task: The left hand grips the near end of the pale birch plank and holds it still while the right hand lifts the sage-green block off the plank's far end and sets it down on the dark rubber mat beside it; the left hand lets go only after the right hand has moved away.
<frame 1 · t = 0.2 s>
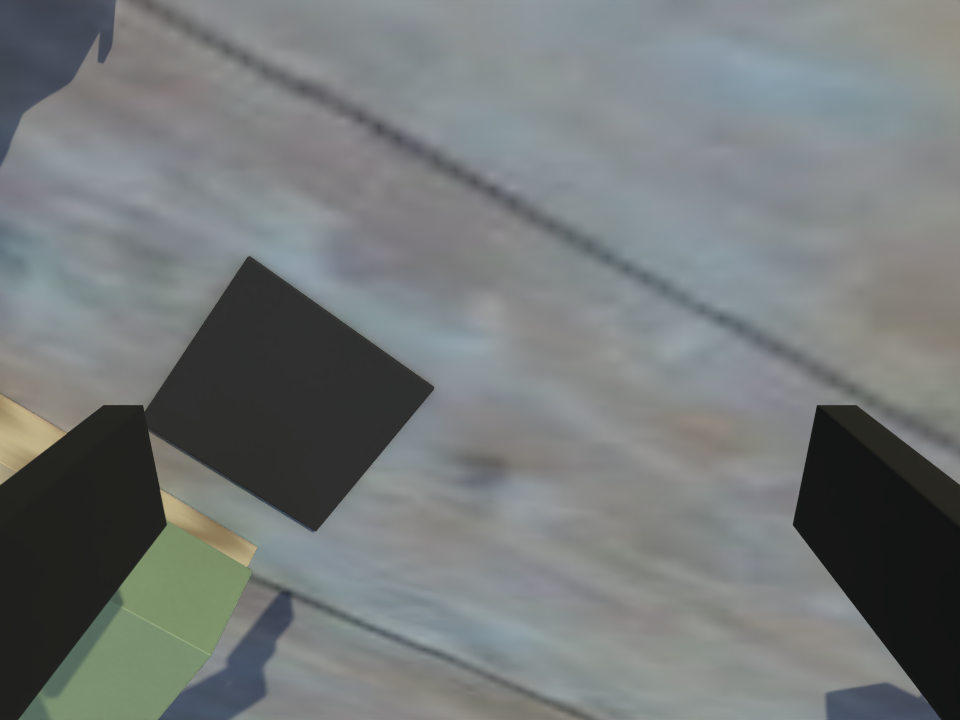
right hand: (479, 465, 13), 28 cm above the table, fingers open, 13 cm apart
rubber mat: (286, 403, 43), on the table
sage block: (149, 589, 42), point 5 cm above the table, touching birch plank
birch plank: (73, 478, 45), on the table, touching sage block
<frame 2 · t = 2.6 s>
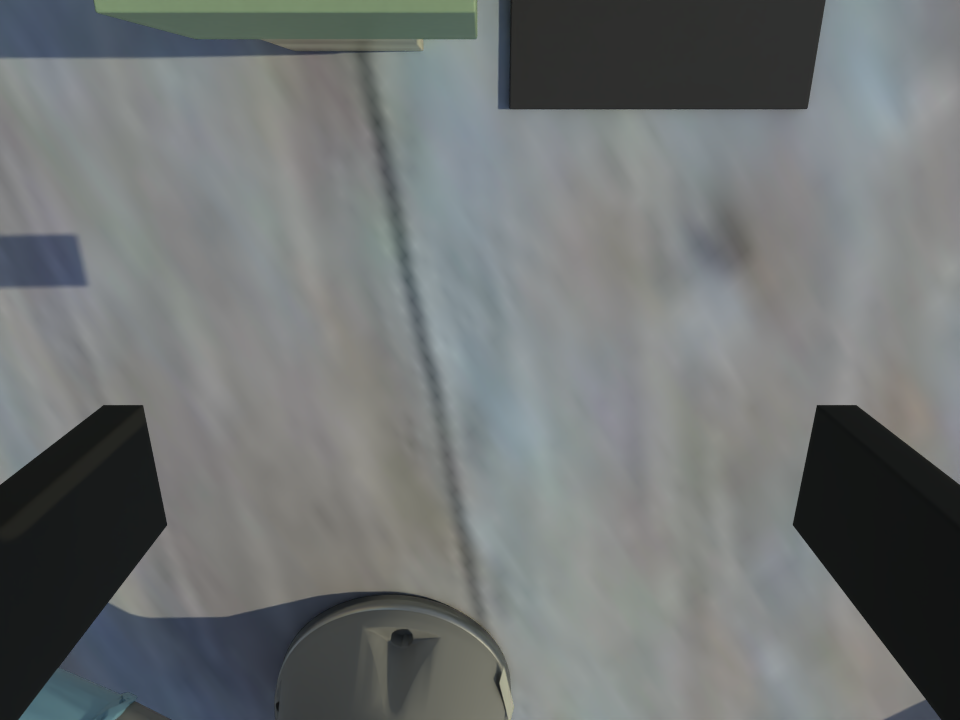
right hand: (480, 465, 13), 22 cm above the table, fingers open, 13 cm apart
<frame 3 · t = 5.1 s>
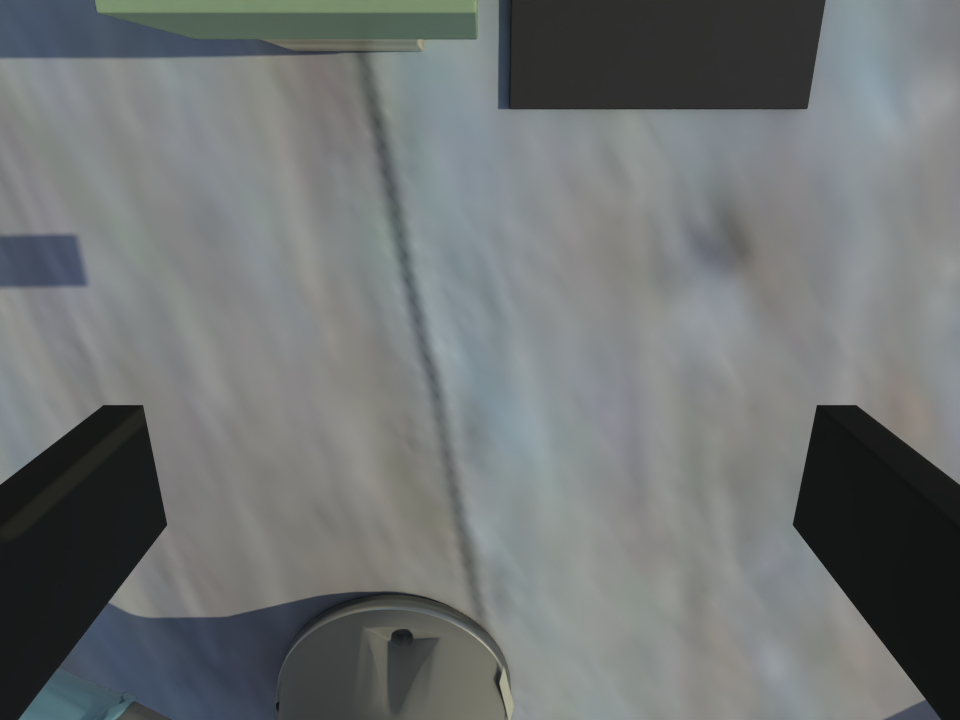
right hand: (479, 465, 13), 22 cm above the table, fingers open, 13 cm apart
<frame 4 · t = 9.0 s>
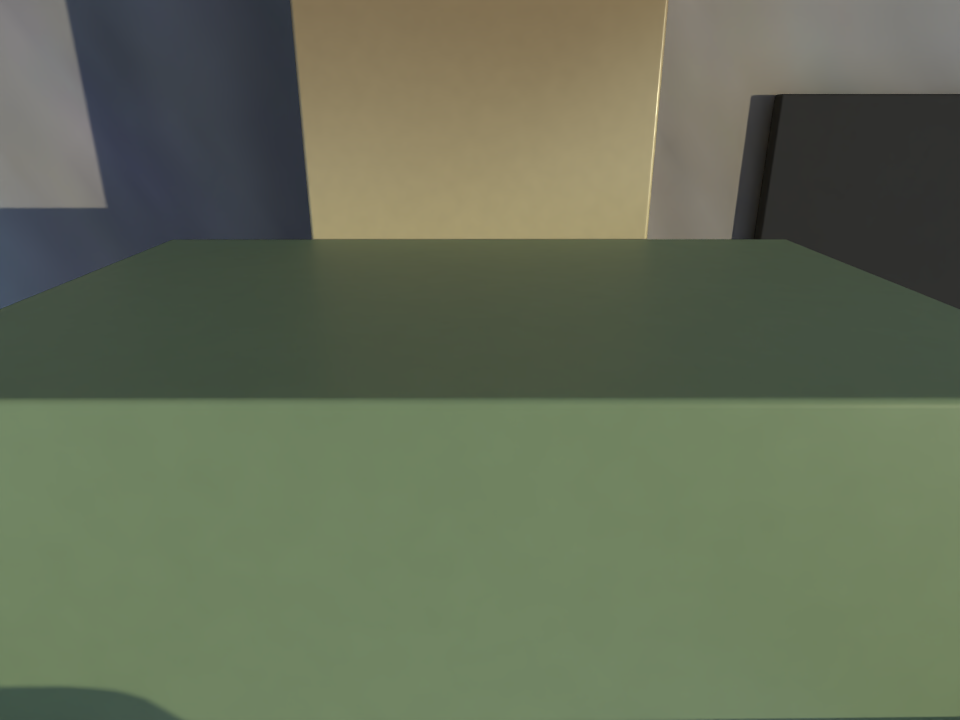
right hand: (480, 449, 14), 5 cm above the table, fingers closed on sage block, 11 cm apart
sage block: (479, 461, 13), point 5 cm above the table, touching birch plank, right hand
birch plank: (479, 24, 15), on the table, touching left hand, sage block
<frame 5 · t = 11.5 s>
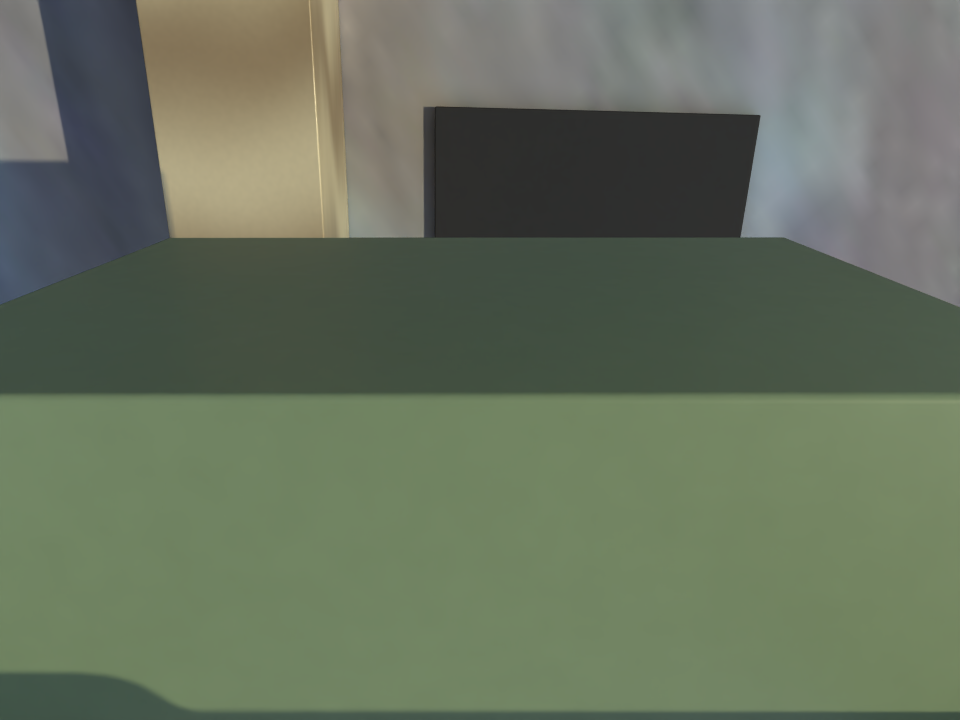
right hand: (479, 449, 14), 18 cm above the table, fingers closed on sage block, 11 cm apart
rubber mat: (583, 269, 31), on the table
sage block: (477, 459, 13), point 19 cm above the table, touching right hand
birch plank: (270, 64, 27), on the table, touching left hand
when the right hand's fingers open (3 cm above the table, at t = 15.4 s): sage block drops 3 cm, resting on rubber mat.
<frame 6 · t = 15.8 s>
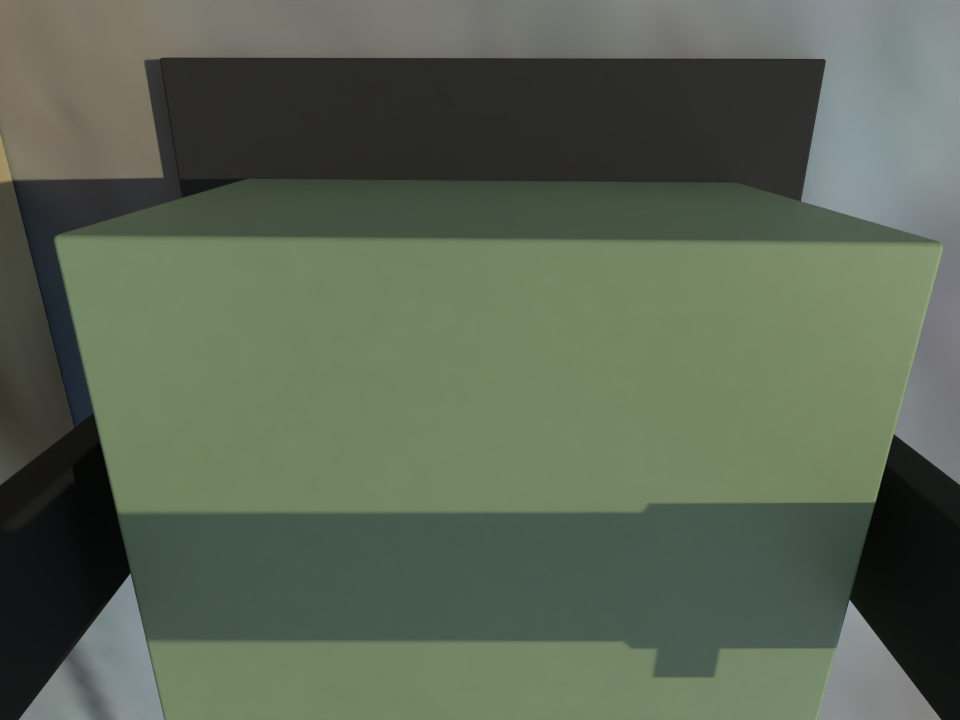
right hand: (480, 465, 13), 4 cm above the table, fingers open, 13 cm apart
rubber mat: (489, 362, 16), on the table
sage block: (489, 367, 16), resting on rubber mat
when the left hand's fingers open (2 cm above the table, at t = 17.8 s): birch plank stays where it is, on the table.
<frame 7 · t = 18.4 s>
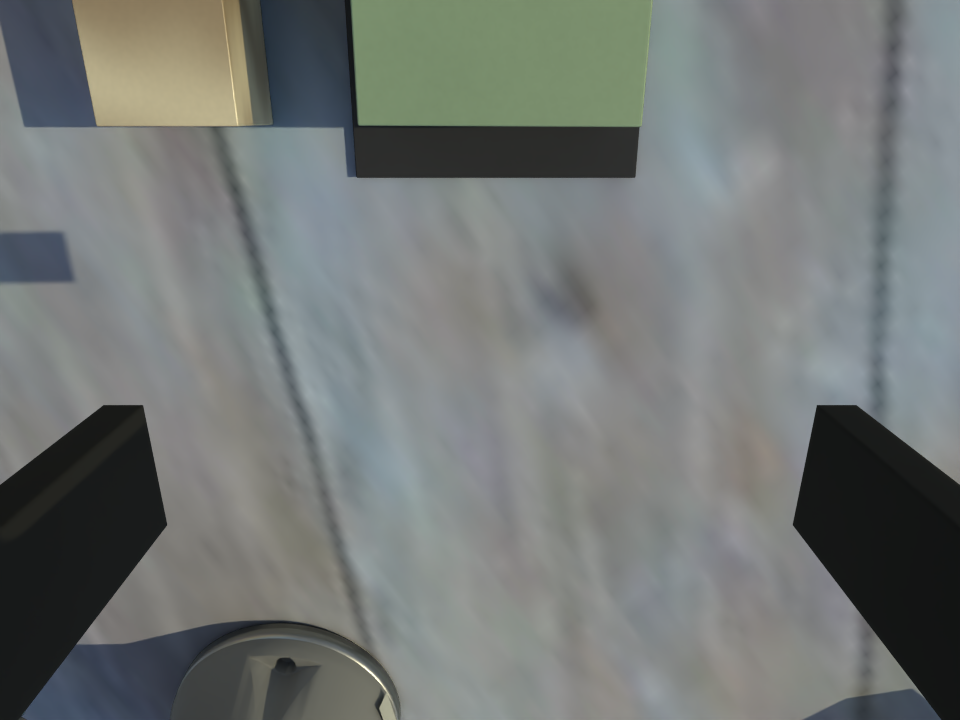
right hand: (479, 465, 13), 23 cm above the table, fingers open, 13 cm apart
rubber mat: (496, 22, 30), on the table
sage block: (496, 20, 30), resting on rubber mat
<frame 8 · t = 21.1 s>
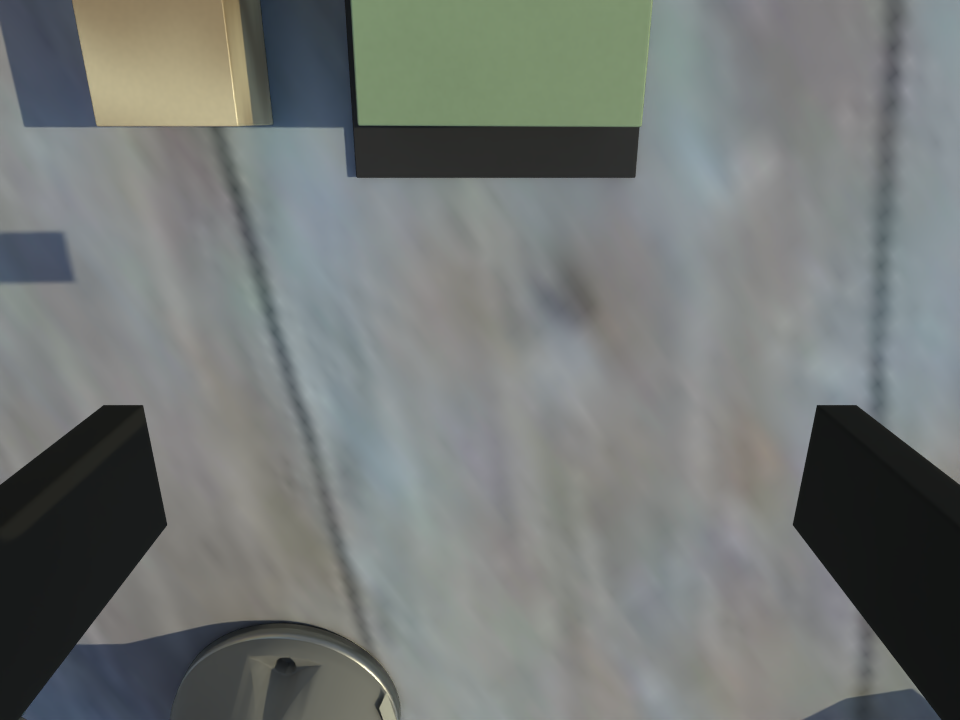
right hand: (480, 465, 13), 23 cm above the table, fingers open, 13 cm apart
rubber mat: (496, 22, 30), on the table
sage block: (496, 20, 30), resting on rubber mat
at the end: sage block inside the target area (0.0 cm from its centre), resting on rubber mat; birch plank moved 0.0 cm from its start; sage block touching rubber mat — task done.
